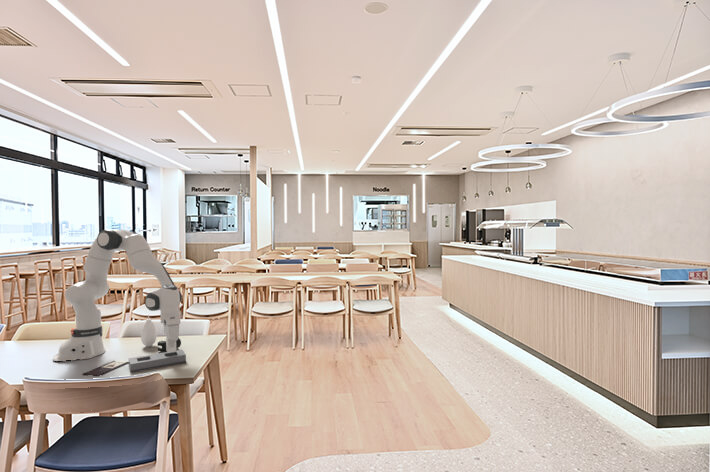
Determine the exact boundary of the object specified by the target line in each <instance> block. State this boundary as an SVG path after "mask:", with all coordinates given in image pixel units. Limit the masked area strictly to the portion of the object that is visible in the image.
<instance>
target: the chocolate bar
mask: <svg viewBox="0 0 710 472" xmlns="http://www.w3.org/2000/svg"><path fill="white" fill-rule="evenodd" d="M126 365H129V361H124V360H121V361H120V360H112V361H110V362H107V363H105V364H102V365H101V366H98V367H96V368H93V369H90V370H88V371H85V372H83V373H82V374H83V375H82V376H88V375H93V376H92V377H101V376H103V375H106V374H107V373H108V374H109V373H110V372H112V371H114V370H116V369H118V368H121V367H123V366H126ZM100 375H101V376H100Z"/></svg>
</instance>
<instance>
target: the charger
mask: <svg viewBox="0 0 710 472" xmlns="http://www.w3.org/2000/svg"><path fill="white" fill-rule="evenodd" d="M165 341H166V351H167V353H169V352H175V351H176V350H177V349H176V341H175V342H174V347H172V348H171V347H170V340H169V339H168V337H167V336H165Z"/></svg>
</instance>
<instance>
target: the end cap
mask: <svg viewBox="0 0 710 472" xmlns="http://www.w3.org/2000/svg"><path fill="white" fill-rule="evenodd" d="M181 345H182V340H181V339H180V338H179V337H178V340H176V350H179V348H180V347H181ZM164 352H167V351H166V340H159V341H157V354H158V353H164Z"/></svg>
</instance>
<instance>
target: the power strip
mask: <svg viewBox="0 0 710 472" xmlns="http://www.w3.org/2000/svg"><path fill="white" fill-rule="evenodd" d="M128 362H129V363H128V369H129V373H130V374H132V373H137V372H143V371H149V370H153V369H159V368H164V367H169V366H175V365H180V364H186V363H187V354H186V353H185V352H184V350H183V349H176V351H175V352H169V353H167V352H164V353H158V352H157V353H152V354H148V355H147V354H146V355H141V356H133V357H129V358H128Z"/></svg>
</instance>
